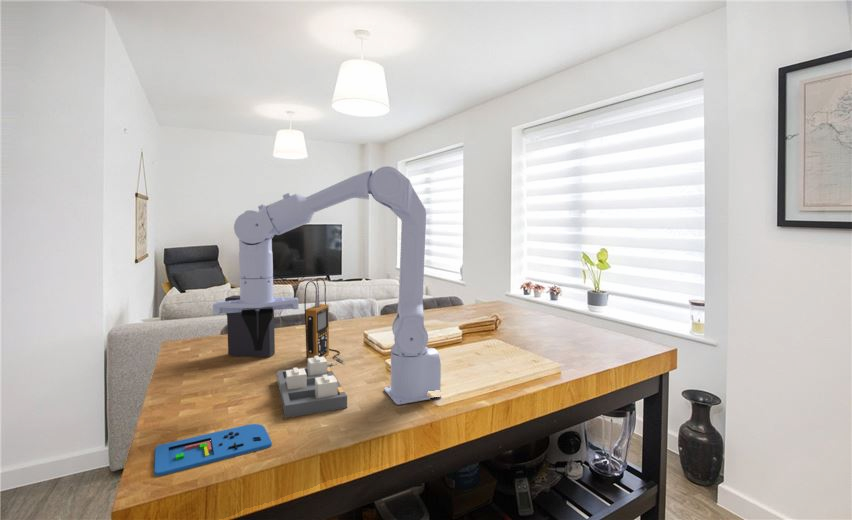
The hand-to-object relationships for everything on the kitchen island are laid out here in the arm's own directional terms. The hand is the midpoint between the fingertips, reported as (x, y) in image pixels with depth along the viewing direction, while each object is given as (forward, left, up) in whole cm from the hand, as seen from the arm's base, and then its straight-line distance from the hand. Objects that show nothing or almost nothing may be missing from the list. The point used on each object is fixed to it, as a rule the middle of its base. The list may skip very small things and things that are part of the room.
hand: (258, 349), depth 78 cm
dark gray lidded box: (+1, -30, -10) cm, 32 cm away
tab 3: (-11, +6, -9) cm, 16 cm away
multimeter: (-17, -19, -10) cm, 28 cm away
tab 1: (-7, 0, -9) cm, 11 cm away
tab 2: (-12, -6, -9) cm, 16 cm away
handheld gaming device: (+7, +15, -11) cm, 20 cm away
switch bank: (-9, 0, -10) cm, 14 cm away
